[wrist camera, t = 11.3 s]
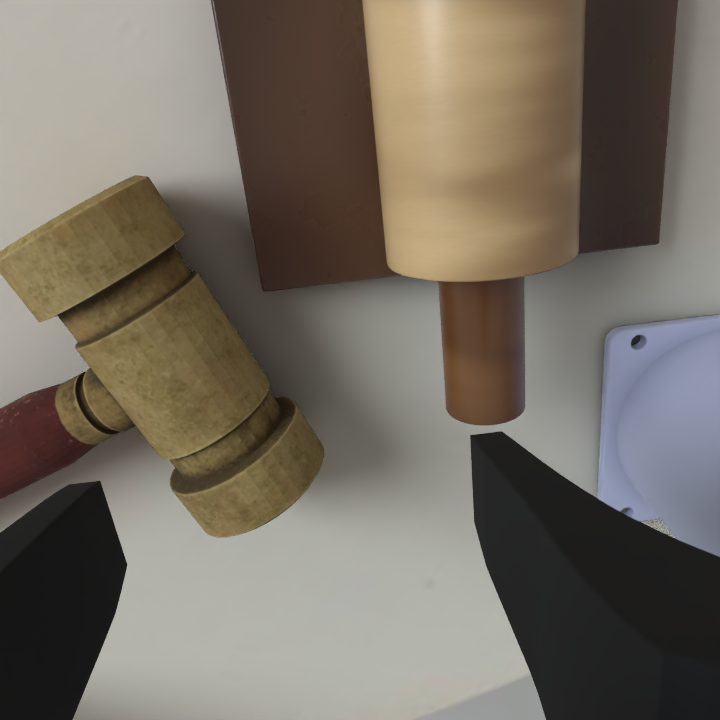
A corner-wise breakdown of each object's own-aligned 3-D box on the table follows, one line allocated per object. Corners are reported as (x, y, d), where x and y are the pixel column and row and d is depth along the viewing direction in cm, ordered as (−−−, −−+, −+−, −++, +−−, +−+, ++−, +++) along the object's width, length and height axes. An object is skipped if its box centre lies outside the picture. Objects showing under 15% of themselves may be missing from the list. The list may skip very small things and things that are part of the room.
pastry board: (674, -358, 15) (711, -406, 13) (637, 234, 20) (659, 244, 19) (166, -299, 15) (149, -341, 13) (266, 279, 20) (262, 293, 19)
